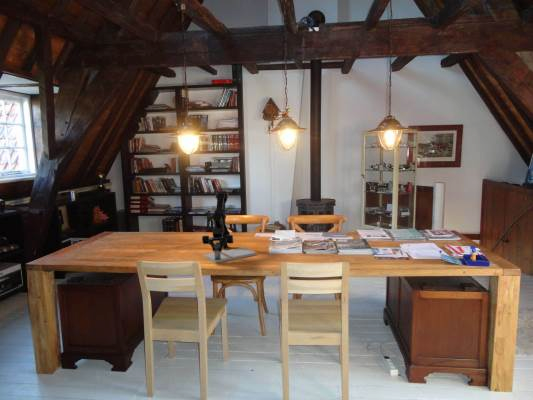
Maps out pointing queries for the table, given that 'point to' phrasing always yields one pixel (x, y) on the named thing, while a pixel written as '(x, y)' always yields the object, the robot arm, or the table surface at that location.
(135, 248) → the table surface
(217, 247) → the awl peg
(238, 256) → the subfloor panel
